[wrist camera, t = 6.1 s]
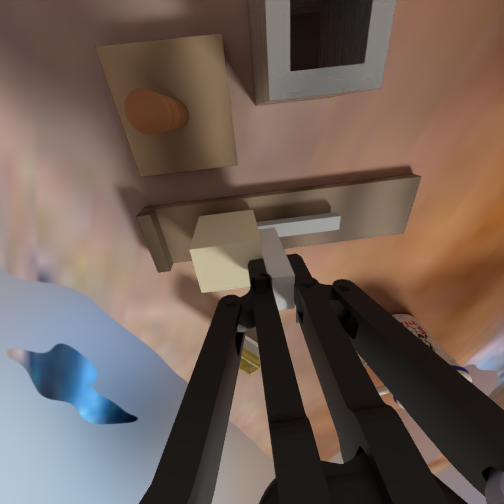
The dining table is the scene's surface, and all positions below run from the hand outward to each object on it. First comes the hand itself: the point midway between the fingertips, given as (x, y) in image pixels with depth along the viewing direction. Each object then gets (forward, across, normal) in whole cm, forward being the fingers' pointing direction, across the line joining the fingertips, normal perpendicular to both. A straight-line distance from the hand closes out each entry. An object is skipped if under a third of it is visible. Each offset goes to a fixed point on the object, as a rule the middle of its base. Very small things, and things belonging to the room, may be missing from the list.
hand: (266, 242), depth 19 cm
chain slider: (+3, -1, 0) cm, 3 cm away
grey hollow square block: (+5, -3, -13) cm, 14 cm away
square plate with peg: (+5, +6, -10) cm, 12 cm away
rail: (+5, -3, 0) cm, 5 cm away
